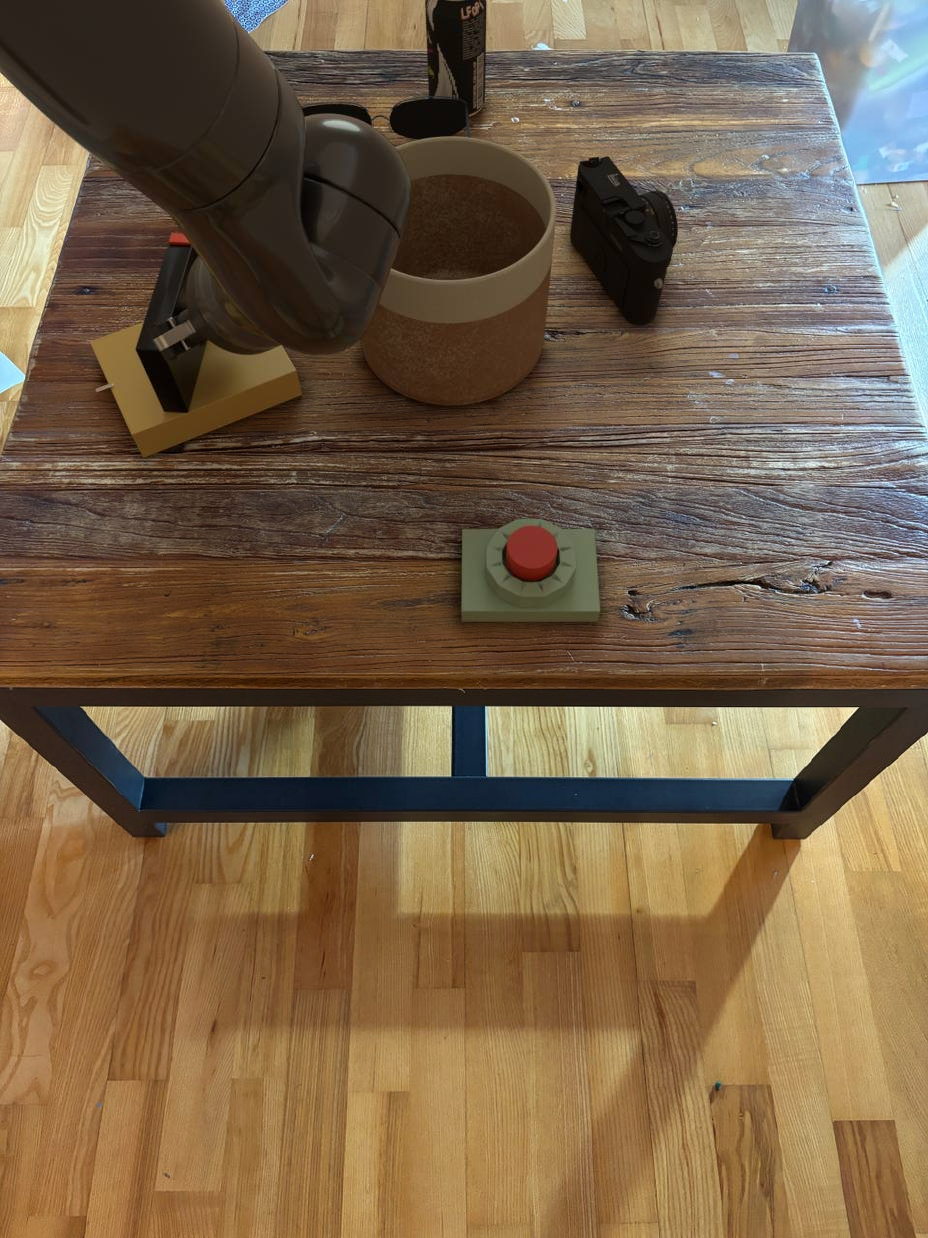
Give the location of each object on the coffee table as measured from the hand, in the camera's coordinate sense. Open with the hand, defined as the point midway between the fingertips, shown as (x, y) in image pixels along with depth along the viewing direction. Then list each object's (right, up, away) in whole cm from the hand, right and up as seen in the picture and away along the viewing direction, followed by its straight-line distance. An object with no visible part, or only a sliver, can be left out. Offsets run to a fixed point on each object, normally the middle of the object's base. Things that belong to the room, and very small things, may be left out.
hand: (213, 320), depth 74 cm
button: (+25, -20, -8) cm, 33 cm away
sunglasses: (+13, +17, +15) cm, 26 cm away
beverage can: (+20, +28, +20) cm, 40 cm away
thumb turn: (-2, -2, +1) cm, 3 cm away
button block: (+25, -21, -5) cm, 33 cm away
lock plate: (-2, -4, +4) cm, 6 cm away
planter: (+19, 0, +6) cm, 20 cm away
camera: (+35, +8, +10) cm, 37 cm away
